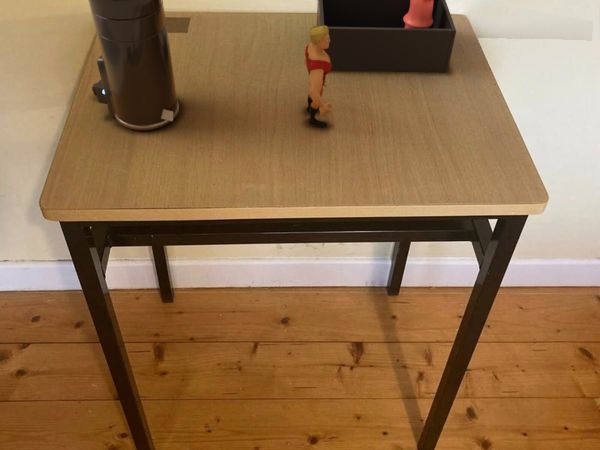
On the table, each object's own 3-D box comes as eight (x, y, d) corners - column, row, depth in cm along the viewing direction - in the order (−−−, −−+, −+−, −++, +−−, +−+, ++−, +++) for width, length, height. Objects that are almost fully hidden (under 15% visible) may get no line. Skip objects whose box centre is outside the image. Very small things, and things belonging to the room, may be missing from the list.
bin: (318, 70, 102) (320, 28, 96) (316, 29, 111) (318, -12, 105) (447, 72, 102) (456, 30, 97) (434, 31, 111) (442, -9, 106)
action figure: (332, 136, 90) (339, 43, 79) (307, 137, 90) (311, 44, 79) (324, 98, 96) (329, 7, 85) (301, 99, 96) (304, 8, 85)
